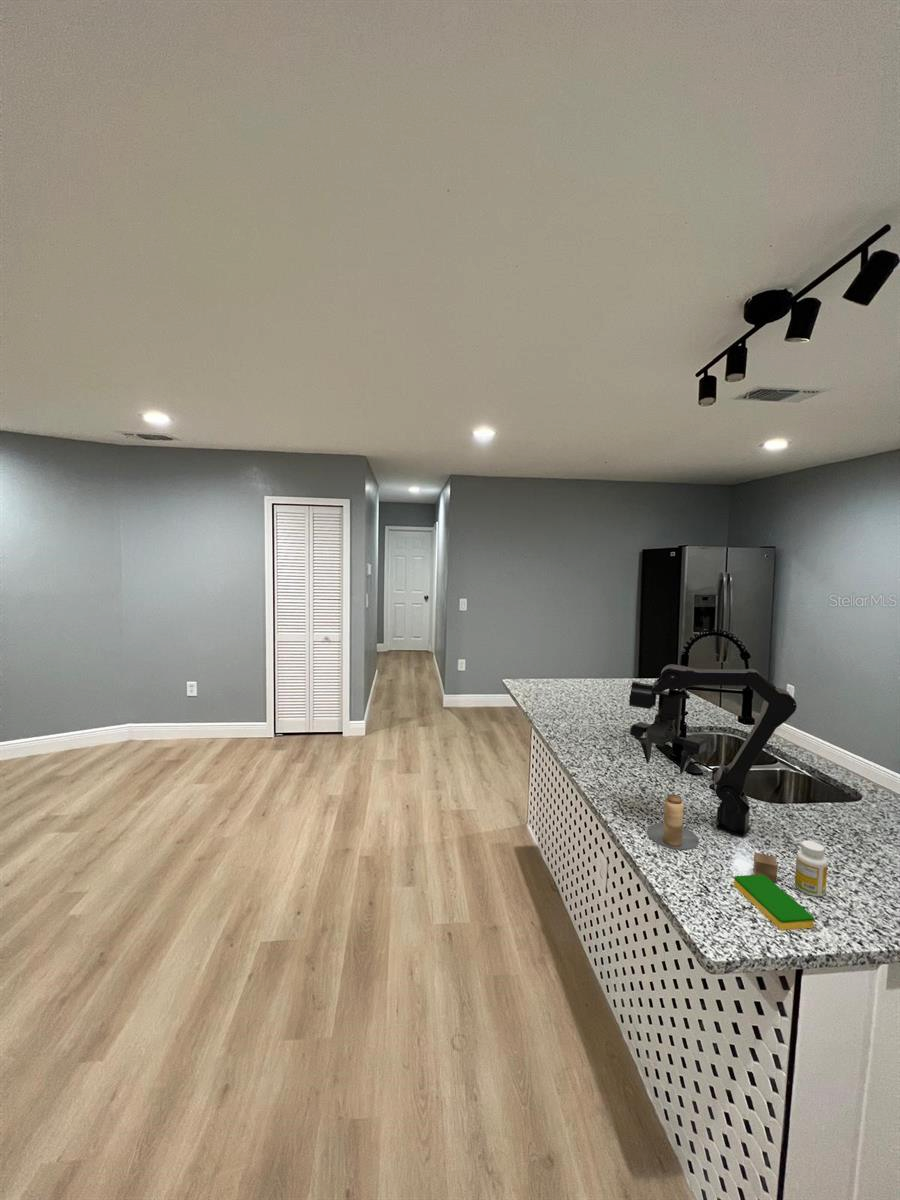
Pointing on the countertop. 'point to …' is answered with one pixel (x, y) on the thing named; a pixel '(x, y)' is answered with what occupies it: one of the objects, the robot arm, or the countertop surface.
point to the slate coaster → (657, 836)
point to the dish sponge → (774, 902)
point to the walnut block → (765, 866)
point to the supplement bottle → (811, 869)
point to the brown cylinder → (673, 820)
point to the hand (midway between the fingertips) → (664, 767)
